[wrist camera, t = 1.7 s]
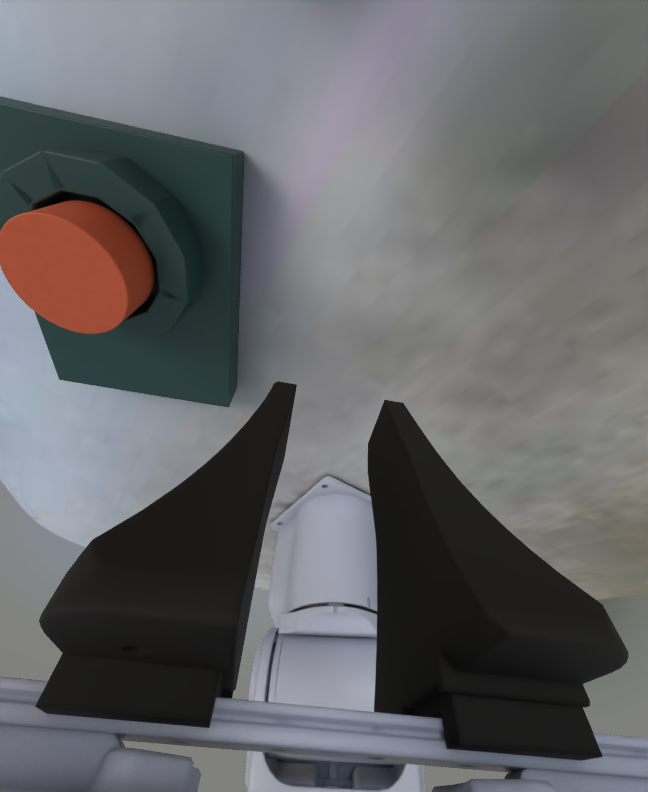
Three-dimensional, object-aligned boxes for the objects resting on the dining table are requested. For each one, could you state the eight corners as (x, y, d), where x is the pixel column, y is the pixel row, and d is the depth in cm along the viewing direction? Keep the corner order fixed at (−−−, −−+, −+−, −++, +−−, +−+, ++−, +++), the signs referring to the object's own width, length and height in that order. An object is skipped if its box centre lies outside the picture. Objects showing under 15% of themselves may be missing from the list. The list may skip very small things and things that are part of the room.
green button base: (236, 388, 23) (219, 430, 20) (79, 361, 22) (35, 401, 19) (244, 151, 15) (218, 158, 12) (-3, 95, 14) (-103, 87, 11)
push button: (160, 317, 16) (136, 343, 14) (60, 299, 15) (22, 323, 14) (148, 213, 13) (116, 227, 11) (26, 188, 13) (-27, 199, 11)
